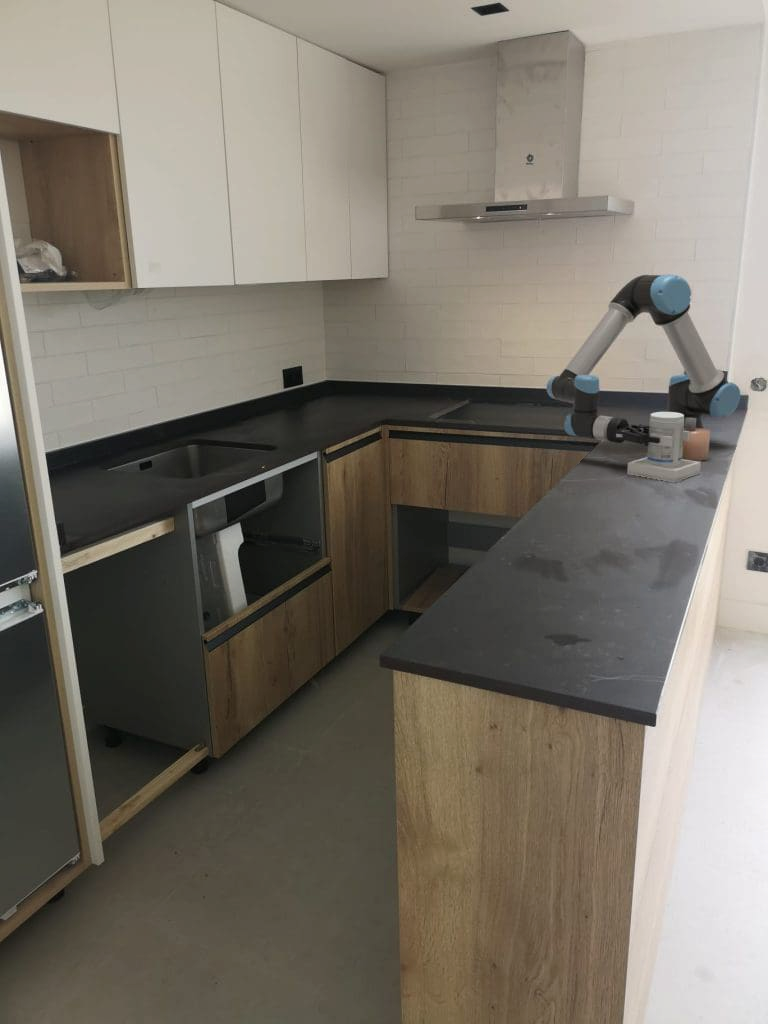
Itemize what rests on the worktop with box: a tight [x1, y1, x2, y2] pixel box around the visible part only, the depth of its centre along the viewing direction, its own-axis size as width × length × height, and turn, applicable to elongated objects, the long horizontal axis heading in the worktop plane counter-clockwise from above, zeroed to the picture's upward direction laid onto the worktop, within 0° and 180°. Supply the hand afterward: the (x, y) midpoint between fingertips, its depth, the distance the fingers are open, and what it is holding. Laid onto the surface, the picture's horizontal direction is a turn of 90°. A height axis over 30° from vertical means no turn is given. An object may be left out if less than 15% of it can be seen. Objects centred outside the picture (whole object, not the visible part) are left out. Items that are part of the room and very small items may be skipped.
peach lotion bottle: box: [682, 417, 711, 462], centre depth 256 cm, size 9×9×13 cm
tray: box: [626, 456, 702, 484], centre depth 237 cm, size 15×15×4 cm
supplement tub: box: [646, 411, 684, 467], centre depth 235 cm, size 10×10×15 cm
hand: (680, 439), depth 231 cm, fingers closed on supplement tub, 9 cm apart
